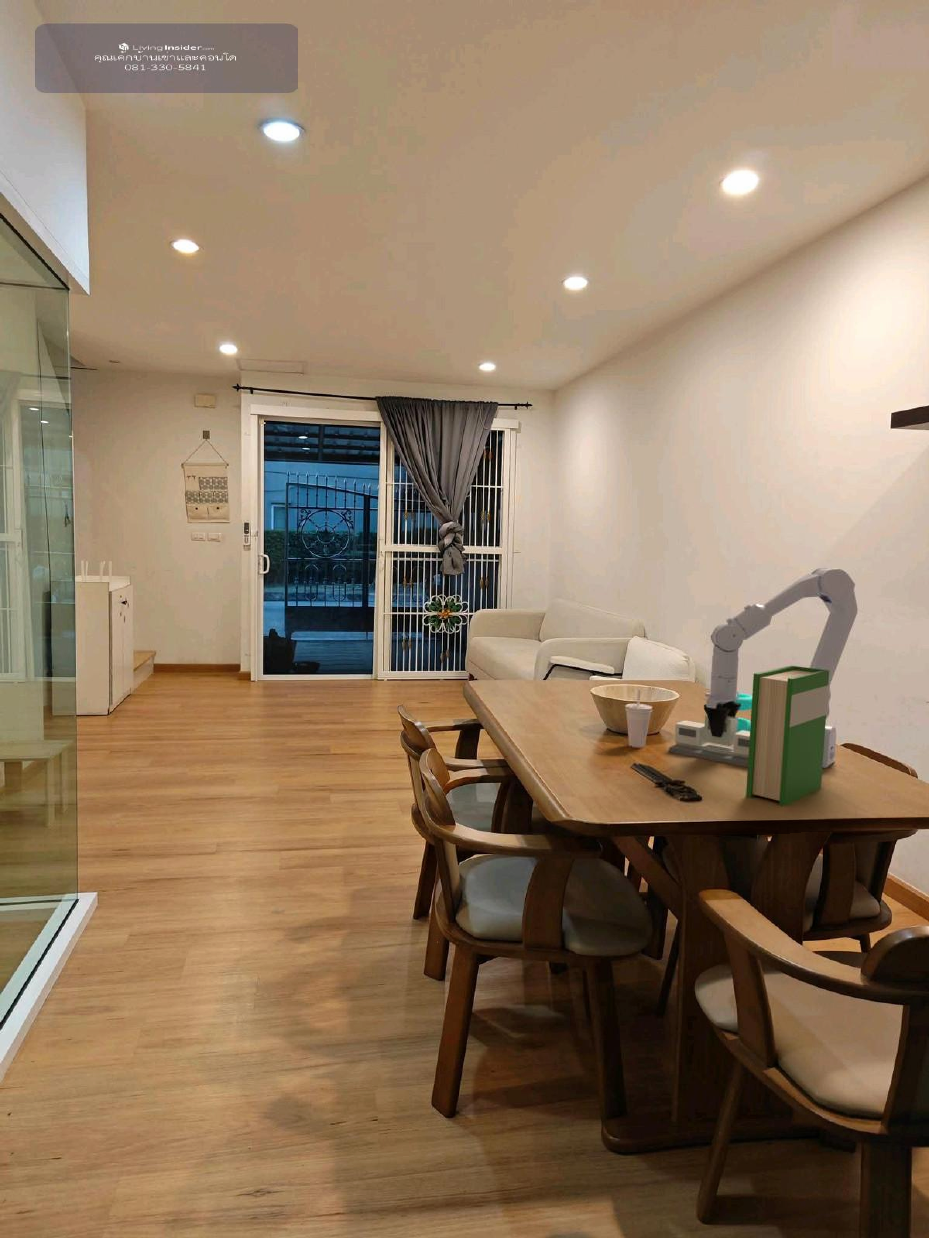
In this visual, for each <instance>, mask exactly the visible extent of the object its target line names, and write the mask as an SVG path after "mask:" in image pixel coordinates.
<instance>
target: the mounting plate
mask: <svg viewBox="0 0 929 1238" xmlns="http://www.w3.org/2000/svg"><path fill="white" fill-rule="evenodd" d="M704 727H705V723H702V722H695V721H690V720H686V719H685V720H682V721H679V722H677V723H675V731H674V734H675V735H674V742H675V744H673V745H672V746H669V747H668V752H670V753H675V754H680V755H685V756H690V757H694V756H695V758H699V759H705V760H709V761H714V762H715V761H716V762H720V763H725V764H729V765H734V766H737V767H738V766H739V767H745V768H748V756H749V740H750V731H744V730H742V731H740V732H737V733H735V734H734V744H733V747H732V746H727V745H722V744H716V743H711V742H705V741H704Z"/></svg>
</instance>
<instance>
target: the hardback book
mask: <svg viewBox="0 0 929 1238" xmlns="http://www.w3.org/2000/svg"><path fill="white" fill-rule="evenodd" d="M828 683H829V670H822V669H814V668H810V667H806V666H805V667H804V666H797V665H789V666H784V667H779V668H775V669H774V668H773V669H771V670H766V671H765V670H764V671H760V672H755V673H753V679H752V694H751V695H752V708H751V709H750V711H751V713H750V721H751V724H750V740H749V756H748V767H747V771H746V772H747V776H746V790H745V797H746V798H750V799H751V798H754V797H756V796H760V797H762V798H763V797H764V798H767V799H770V800H774V801H777V802H778V803H779V804H778V805H779V806H780V805H781V806H780V807H783V806H785V807H786V805H787V806H789V805H791V804H793V803H794V802H796V801H798V800H800V799H802V798H804V797H806V796H808V795H810V794H813V792H816V791H817V790H820V789H822V781H823V780H822V777H823V767H822V766H823V752H824V738H825V725H827V724H826V723H827V722H826V721H827V719H826V711H827V697H828ZM792 802H793V803H792ZM788 804H789V805H788Z"/></svg>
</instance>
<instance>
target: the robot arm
mask: <svg viewBox="0 0 929 1238" xmlns="http://www.w3.org/2000/svg"><path fill="white" fill-rule="evenodd" d="M855 585H856V583H855V582H854V580H853V579H852V578H851V576H850V575H849V573H847V572H846V571H845V570H844V569H842V568H826V567H820V568H817V569H815V570H813V571H812V572H811V573H808V574H806V575H803V576H802V577H800V578H799V579H797V580H796V581H794V582H793V583H792V584H790V585H789V586H788V587H786V588H785V589H784V590H782V591H781V592H779V593H778V594H776V595H775V596H773V597H772V598H771V599H769V600H768V601H766V602H765V603H764V604H757V603H754V604H752V605H750V604H747V605H746V606H744V608H743V609H744V610H743V611H741V612H740V613H738V614H737V615H735V616H734V617H732V618H731V617H729V618H727V619H725V620H726V623H721V624H718V625H717V626H716V627H715V628H714V629H713V630H712V633H711V634H710V640H711V643H712V644H713V649H712V653H713V654H712V657H711V658H712V660H711V672H710V673H711V674H710V675H711V676H710V691H709V692H706V693H704V696H705V697H708V698H706V704H704V705H703V710H704V712H705V714H706V715H707V716H708V719H709V724H710V729H711V734H712V736H715V737H722V734H723V730H724V724H725V720H726V717H727V716H732V717H736V715H737V714H738V710H739V708H740V707H741V703H737V702H734V701H736V700H738V697H739V693H740V692H739V691H737V690H738V675H739V674H738V673H739V672H738V671H739V659H740V658H739V651H740V650H739V649H740V648H741V647H742V645H743V642H744V640H745V641H747V640H748V639H750V638H751V637H752V636H755V635H756V634H757V633H759V632H761V631H762V630H764V629H765V628H766V627H769V626H770V624H771V621H772V617H773V616H775V615H776V614H778V613H780V612H782V611H783V610H785V609H787V608H789V607H790V606H792V605H794V604H795V603H797V602H799V601H800V600H802V599H804V598H816V597H817V598H819V599H820V600H822V602H823V604H824V605H825V607H826V608H827V610H828V611H829V615H828V617H827V621H826V623H825V625H824V628H823V631H822V634H821V636H820V639H819V642H818V644H817V647H816V648H815V649H816V650H815V652H814V655H813V657H812V661H811V663H810V665H809V668H814V669H822V670H829V683H828V697H827V711H826V720H828V717H829V715H830V700H831V698H832V695H831V687H830V686H831V684H832V681H833V678H834V675H835V673H836V671H837V667H838V665H839V663H840V661H841V660H840V659H841V657H842V654H843V652H844V649H845V646H846V644H847V641H848V638H849V636H850V633H851V630H852V629H853V626H854V622H855V620H856V618H857V614H858V605H857V599H856V595H855V587H856V586H855ZM836 730H837V729H836V727H835V726H832V725H827V724H826V725H825V738H824V752H823V766H822V769H823V768H825V769H826V768H828V767H829V766H831V765H832V764H833V763H835V762H836V759H835V755H836V754H835V753H836V743H837V731H836Z"/></svg>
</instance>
